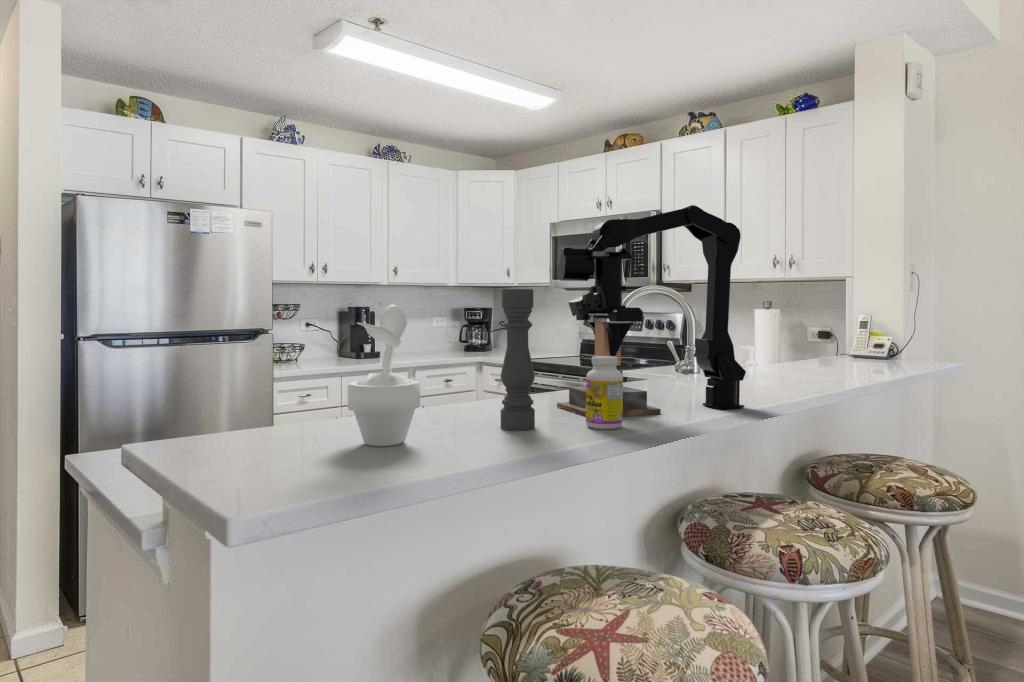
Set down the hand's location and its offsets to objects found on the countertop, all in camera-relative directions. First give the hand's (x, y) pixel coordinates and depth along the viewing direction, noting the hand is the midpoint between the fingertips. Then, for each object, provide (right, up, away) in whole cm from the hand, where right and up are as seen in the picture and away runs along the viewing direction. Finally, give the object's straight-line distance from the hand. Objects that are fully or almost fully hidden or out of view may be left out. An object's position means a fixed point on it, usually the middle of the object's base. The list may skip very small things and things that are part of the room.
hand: (607, 355), depth 139 cm
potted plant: (-41, -14, -33) cm, 55 cm away
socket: (0, -12, +1) cm, 12 cm away
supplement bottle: (-3, -13, -19) cm, 23 cm away
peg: (0, -2, 0) cm, 2 cm away
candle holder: (-19, -13, -19) cm, 30 cm away
